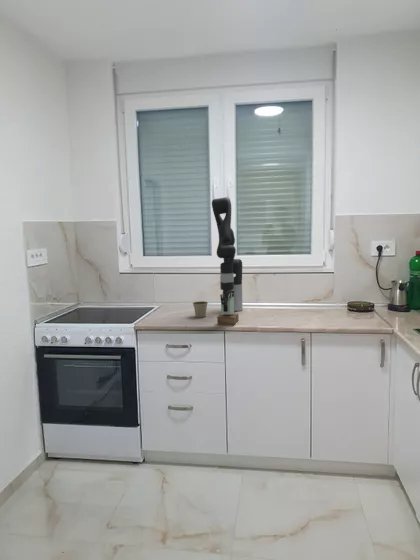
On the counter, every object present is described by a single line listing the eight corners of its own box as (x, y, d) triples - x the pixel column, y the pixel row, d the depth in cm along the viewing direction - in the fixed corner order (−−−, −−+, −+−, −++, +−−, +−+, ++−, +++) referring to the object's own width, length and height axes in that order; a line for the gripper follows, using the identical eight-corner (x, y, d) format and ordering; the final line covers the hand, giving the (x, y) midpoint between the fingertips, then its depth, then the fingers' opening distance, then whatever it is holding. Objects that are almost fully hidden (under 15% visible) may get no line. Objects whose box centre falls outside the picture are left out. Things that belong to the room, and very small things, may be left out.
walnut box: (221, 321, 244) (221, 313, 243) (238, 322, 241) (238, 313, 240) (217, 325, 234) (217, 316, 234) (234, 326, 232) (234, 317, 231)
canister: (225, 311, 241) (224, 296, 240) (234, 312, 238) (234, 297, 237) (221, 313, 236) (220, 298, 235) (230, 314, 233) (230, 299, 232)
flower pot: (194, 318, 251) (194, 304, 250) (191, 315, 260) (190, 302, 259) (210, 317, 254) (209, 303, 252) (206, 314, 263) (205, 300, 261)
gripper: (226, 279, 242) (227, 307, 245) (215, 282, 230) (216, 312, 232) (238, 279, 239) (238, 308, 241) (227, 283, 226) (228, 313, 229)
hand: (227, 310), depth 237 cm, fingers closed on canister, 5 cm apart
